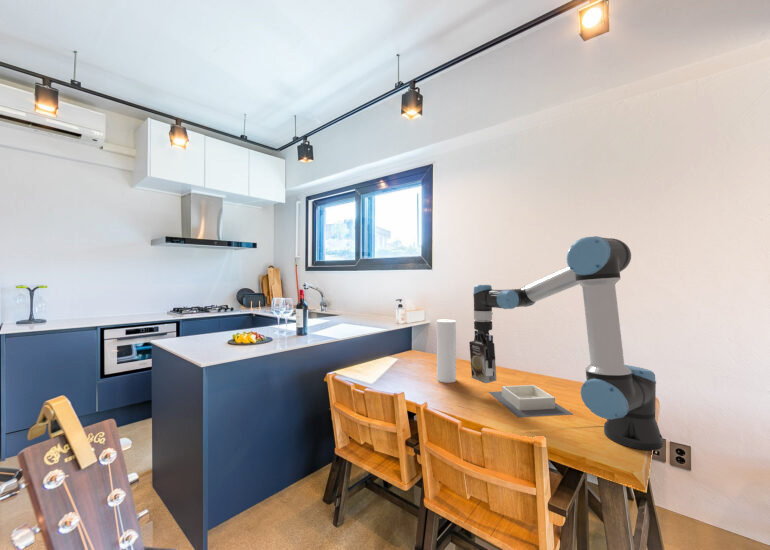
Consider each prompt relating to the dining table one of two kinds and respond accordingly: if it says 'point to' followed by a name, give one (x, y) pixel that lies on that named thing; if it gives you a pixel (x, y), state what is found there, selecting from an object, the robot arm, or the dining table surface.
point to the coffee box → (480, 362)
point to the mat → (530, 413)
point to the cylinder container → (446, 350)
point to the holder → (528, 397)
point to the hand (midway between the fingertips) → (483, 372)
